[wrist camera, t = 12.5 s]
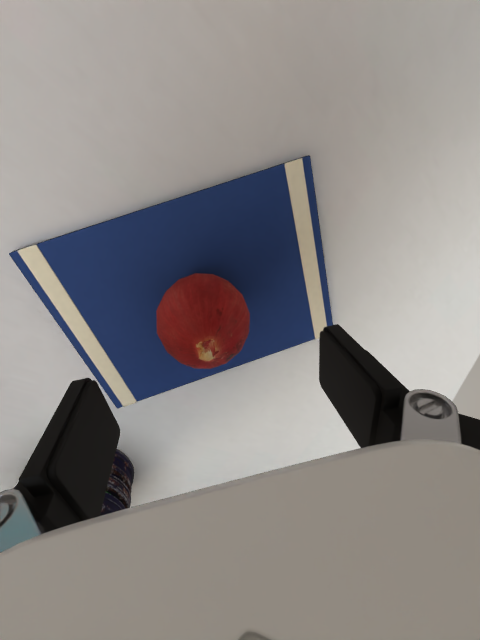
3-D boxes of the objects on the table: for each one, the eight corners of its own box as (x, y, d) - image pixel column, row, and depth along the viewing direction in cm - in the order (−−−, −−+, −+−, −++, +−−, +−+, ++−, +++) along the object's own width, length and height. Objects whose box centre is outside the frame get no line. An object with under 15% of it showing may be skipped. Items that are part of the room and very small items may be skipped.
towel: (306, 155, 18) (310, 154, 18) (331, 329, 25) (334, 332, 24) (13, 251, 18) (7, 253, 17) (118, 403, 24) (116, 409, 24)
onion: (253, 300, 22) (288, 357, 15) (199, 346, 22) (207, 420, 15) (202, 243, 19) (214, 279, 12) (143, 298, 20) (122, 361, 13)
